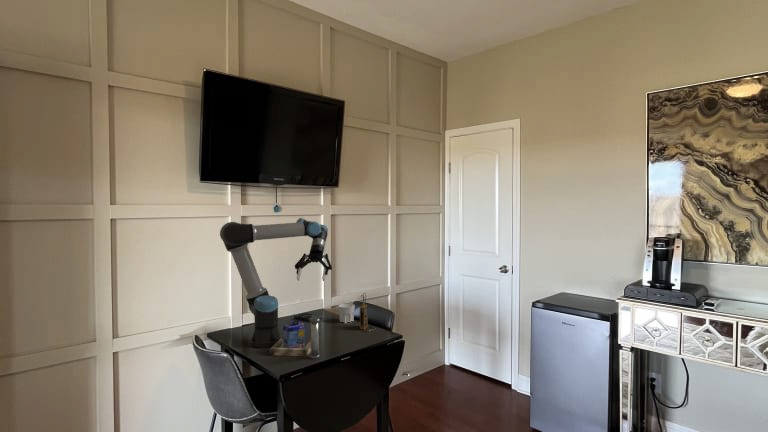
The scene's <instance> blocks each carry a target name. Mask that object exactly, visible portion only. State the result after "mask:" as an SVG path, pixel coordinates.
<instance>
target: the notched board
mask: <svg viewBox="0 0 768 432" xmlns="http://www.w3.org/2000/svg"><path fill="white" fill-rule="evenodd" d="M310 354H311V340H309V342H308V343H307V344H305V348H283V338H282V337H281V339H280V340H279V341H278V342H277V343H276V344H274V345H273V346H272V347H269V356H281V357H282V356H283V357H284V356H285V357H308V356H309V355H310Z"/></svg>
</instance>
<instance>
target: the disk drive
mask: <svg viewBox="0 0 768 432" xmlns="http://www.w3.org/2000/svg"><path fill="white" fill-rule="evenodd" d="M314 317H318V318H320V319H321V320H323V316H322V315H321V314H316V313H315V314H314V313H308V312H303V313H299V314H298V315H293V320H294V319H296V320H295V321H297V320H302V321H301V322H305V321H308V322H307V323H310V322H309V319H310V318H314Z"/></svg>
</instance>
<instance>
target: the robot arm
mask: <svg viewBox="0 0 768 432" xmlns="http://www.w3.org/2000/svg"><path fill="white" fill-rule="evenodd" d="M328 233H329V229H328V227H327V225H325V224H320V223H319V222H317V221H315V220H314V221H311V220H307V219H304V218H303V217H299V218H298V219H297V220H296V222H286V223H273V224H260V225H259V224H257V225H254V224H253V223H239V222H237V221H230V222H226V223H224V224H223V225H222V227H221V228H220V230H219V236H220V239H221V240H222V241H223V244H224V246H225V249H226V251H227V252H229V253H230V254H231V256H232V259H233V261H234V264H235V266H236V269H237V271H238V274H239V276H240V279H241V281H242V283H243V286H244V288H245V292H246V296H245V298H246V299H245V300H246V302H247V304H248V310H249V311H250V312H251V314H252V315H253V316H254V317H253V318H254V330H253V333H252V336H251V338H250V345H251V347H255V348H260V349H265V348H271V347H272V346H273V345H274V344H276V343H277V342H278V341H279V340H280V339H281V338H282V334H281V331H280V328H279V302H278V301H279V300H278V298H277V297H276V296H272V295H270V294H269V291H268V289H267V288H266V287H264V285H263V284H262V282H261V279H260V276H259V274H258V271H257V268H256V266H255V264H254V261H253V258H252V256H251V254H250V250H249V248H248V245H249V244H252V243H254V242H255V241H262V240H275V239H284V238H287V239H288V238H295V237H309V238H311V239H312V242H311V244H310V249H309V254H306V253H303V254H302V256H301V258H299V260H298V261H297V262H296V263H295V264H294V268H295V270H296V279H297V281H300V279H301V275H302V270H303V268H305V267H306V266H307V265H309V264H311V263H318V262H319V263H320V264H321V266H322V267H323V272H322V281H323V282H325V281H326V276H328V273H329V271H332V270H333V266H332V264H331V261H330V259H329V255H328V253H324V252H325V247H326V243H327V238H328V235H329V234H328ZM323 259H324V260H325V261H326V263H325V261H324V260H323Z"/></svg>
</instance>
